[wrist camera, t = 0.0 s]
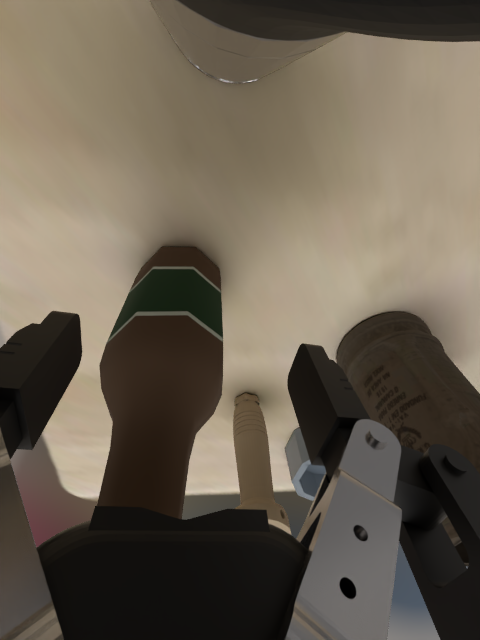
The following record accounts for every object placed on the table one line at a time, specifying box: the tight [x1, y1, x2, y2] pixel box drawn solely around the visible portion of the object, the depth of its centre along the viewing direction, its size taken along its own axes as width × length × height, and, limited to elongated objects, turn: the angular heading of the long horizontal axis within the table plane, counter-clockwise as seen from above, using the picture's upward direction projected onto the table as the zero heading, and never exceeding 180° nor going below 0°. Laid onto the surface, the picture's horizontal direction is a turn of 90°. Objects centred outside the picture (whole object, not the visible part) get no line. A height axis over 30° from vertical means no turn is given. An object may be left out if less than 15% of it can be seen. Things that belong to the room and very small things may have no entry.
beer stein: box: [337, 312, 480, 566], centre depth 28 cm, size 15×11×20 cm
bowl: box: [285, 427, 326, 501], centre depth 45 cm, size 17×17×5 cm
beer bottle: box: [97, 247, 223, 519], centre depth 19 cm, size 8×8×24 cm
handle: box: [233, 393, 291, 535], centre depth 33 cm, size 5×6×15 cm
